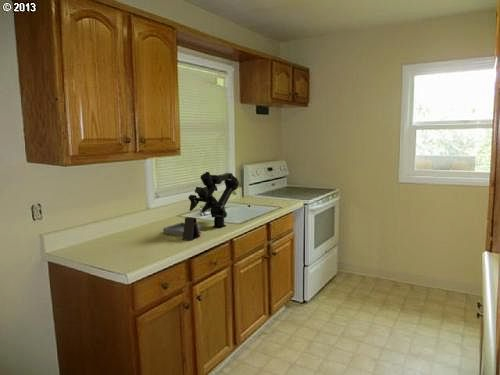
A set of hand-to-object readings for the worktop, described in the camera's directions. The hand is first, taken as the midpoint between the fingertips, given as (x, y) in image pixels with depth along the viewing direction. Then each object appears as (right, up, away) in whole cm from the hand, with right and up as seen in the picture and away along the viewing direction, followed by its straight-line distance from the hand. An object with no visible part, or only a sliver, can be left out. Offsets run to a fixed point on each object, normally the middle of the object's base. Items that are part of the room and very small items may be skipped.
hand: (196, 211), depth 211 cm
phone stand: (-2, -15, -2) cm, 16 cm away
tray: (-10, -13, +12) cm, 20 cm away
